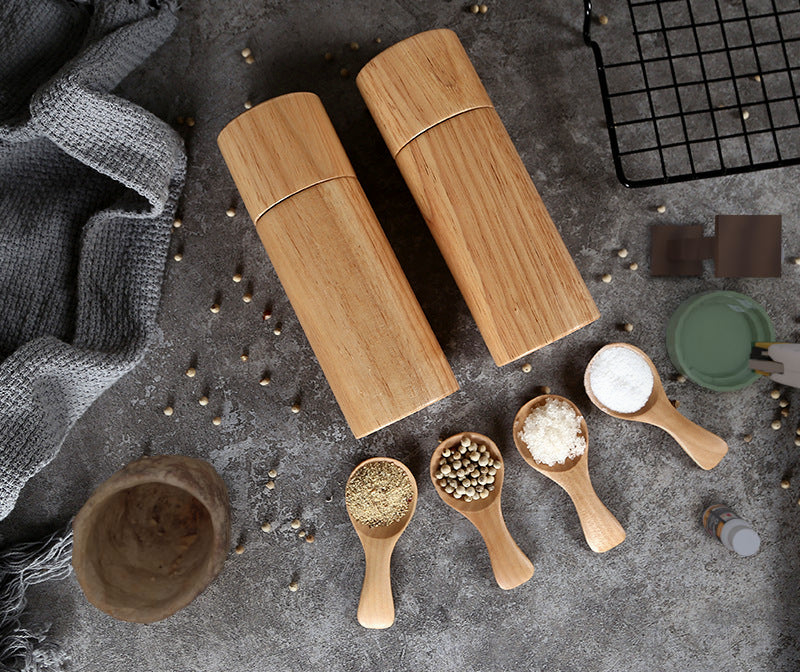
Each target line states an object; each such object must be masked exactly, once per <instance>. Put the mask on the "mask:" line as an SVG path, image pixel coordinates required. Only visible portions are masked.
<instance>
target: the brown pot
mask: <svg viewBox="0 0 800 672" xmlns="http://www.w3.org/2000/svg"><path fill="white" fill-rule="evenodd" d="M71 521H72V522H71V528H72V544H73V545H72V551H71V567H72V569H73V570H74V573H75V575H76V579H77V581H78V584H79V586H80V588H81V590H82V592H83V594H84V596H85V598H86V599H87V601H88V603H89V604H90V605H91V606H93V607H94V608H96V609H97V610H99V611H100V612H102V613H105V614H106V615H108V616H110V617H111V618H113V619H115V620H118V621H123V622H127V623H134V624H141V625H142V624H143V625H144V624H152V623H156V622H161V621H164V620H166V619H168V618H171V617H172V616H173V615H175V614H176V613H178V612H180V611H181V610H182V609H184V608H186V607H188V606H189V605H191V604H192V603H193V602H194V601H195V600H196V599H197V598H198V597H200V596H202V594H203V593H204V592H205V591H206V590H207V589H208V587H209V586H210V585H211V584H212V583H214V582H215V581H216V580H217V579H218V578H219V577H220V575H221V573H222V572H223V571H224V569H225V563H226V561H227V559H228V555H229V552H230V549H231V548H230V547H231V542H232V508H231V504H230V494H229V490H228V486H227V485H226V483H225V482H224V480H223V478H222V477H221V475H220V474H219V473H218V471H217V470H216V469H215V467H214V466H213V465H211V463H209V462H208V461H206V460H203V459H200V458H196V457H192V456H187V455H183V454H173V453H172V454H163V453H162V454H158V455H157V454H156V455H151V456H145V457H140V458H136V459H132V460H130V461H129V462H127V463H126V464H125V465H124V466H122V467H121V468H119V469H118V470H117V471H116V472H114V473H113V474H112V475H110V477H108V478H107V479H106V480H104V481H103V482H102V483H100V484H99V485H98V486H97V487H96V488H95V489H94V491H93V492H92V493H91V495H90V496H89V498H88V499H87V500H86V502H85V503H84V504H83V506H81V508H80V509H79V511H78V512H77V513H76V514H75V516H74V517H73V518H72V520H71Z"/></svg>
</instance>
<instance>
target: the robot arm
mask: <svg viewBox="0 0 800 672" xmlns="http://www.w3.org/2000/svg"><path fill="white" fill-rule="evenodd" d="M773 360H774V361H775V362H774V361H773ZM749 369H756V370H761V371H764V372H769V373H773V374H770V375H768V376H769V377H768V376H767V377H768V378H769V379H770V380H772V381H773V382H776V383H778V384H782V385H786V386H788V387H793V388H797V389H800V343H791V344H772V345H771V346H769V347H768V349H766V348H762V347H757V346H753V347H752V353H751V354H750V359H749Z"/></svg>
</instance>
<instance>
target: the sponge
mask: <svg viewBox="0 0 800 672" xmlns="http://www.w3.org/2000/svg"><path fill="white" fill-rule="evenodd" d="M772 344H792V343H791V342H784V341H775V342H751V353H752V347H753V346H757V347H762V348H766V349H768V347H769V346H771V345H772ZM773 361H774V360H773ZM774 362H775V361H774ZM751 372H753V373H757V374H761V375H762V376H765V377H768V378H769V376H768V375H770V374H773V373H769V372H764V371H761V370H756V369H751Z"/></svg>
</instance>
